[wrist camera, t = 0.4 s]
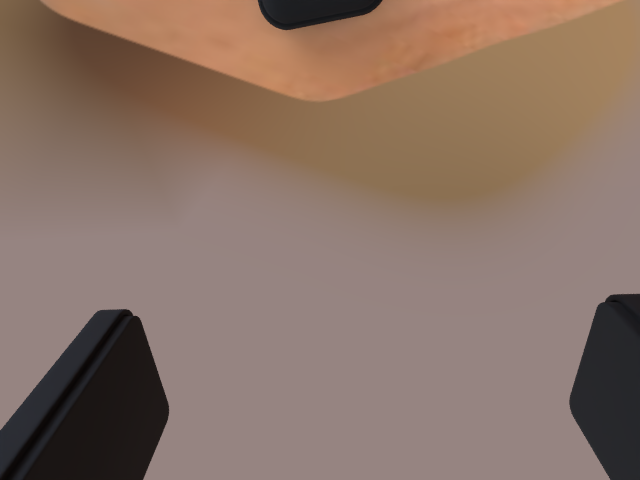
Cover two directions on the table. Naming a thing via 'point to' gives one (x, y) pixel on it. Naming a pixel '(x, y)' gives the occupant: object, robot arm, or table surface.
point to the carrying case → (312, 11)
